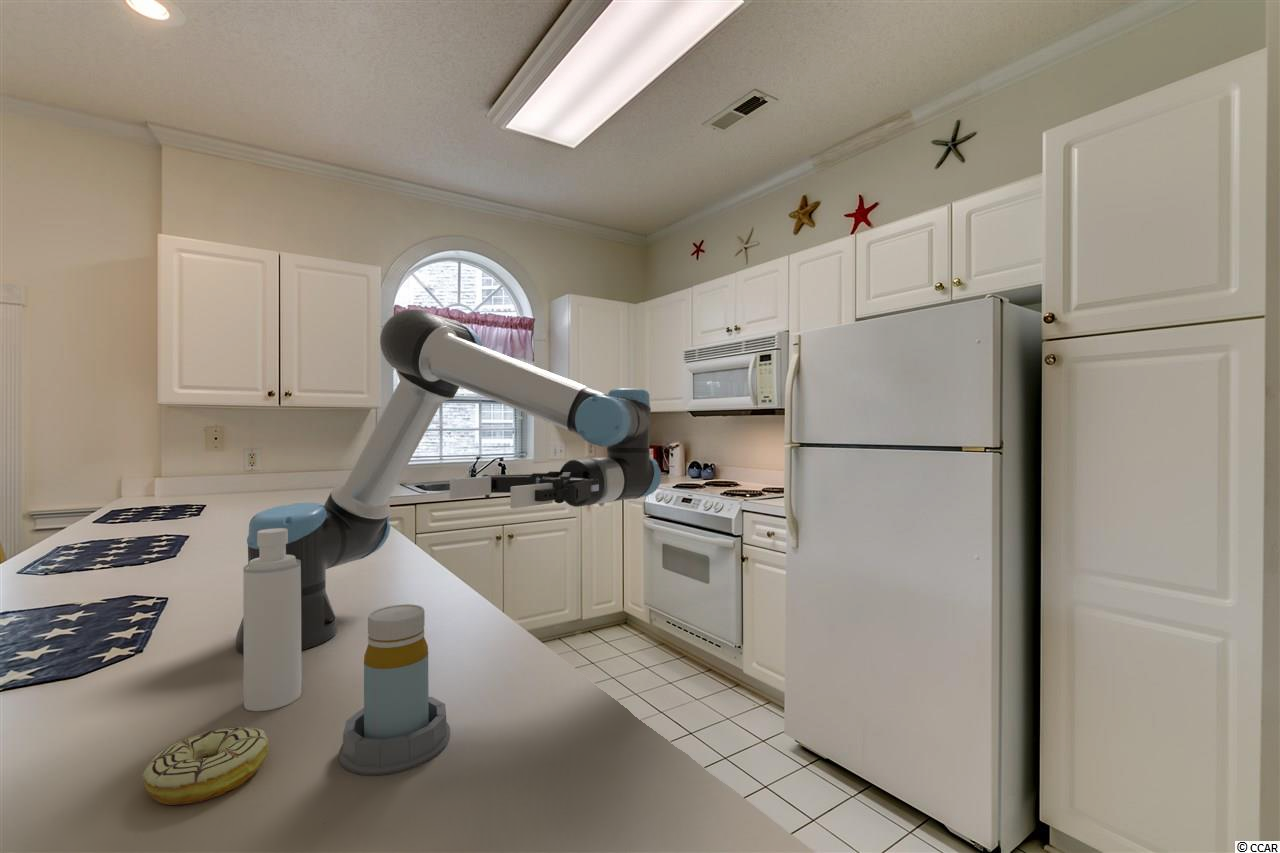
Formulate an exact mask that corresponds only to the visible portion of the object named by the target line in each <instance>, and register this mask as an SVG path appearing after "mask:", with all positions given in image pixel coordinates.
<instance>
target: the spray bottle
mask: <svg viewBox="0 0 1280 853" xmlns="http://www.w3.org/2000/svg"><path fill="white" fill-rule="evenodd" d="M287 543H288V529H285V528H275V529H266V530H261V531H258V532H257V546H258V547H259V558H255V559H252V560H250V562H249V564H248V563H247V564H246V565H244V566H243V582H242V583H243V588H242V590H243V591H242V593H243V595H242V596H243V599H242V600H243V601H242V602H243V604H242V605H243V606H242V607H243V614H242V615H243V616H242V618H243V623H244V654H243V707H244V709H246V710H247V711H250V712H267V711H271V710H272V711H273V710H276V709H280V708H284V707H286V706H288V705H291V704H293V703H294V702H296V701H297V700H298V699H299V698H301V694H302V650H301V560H299V559H296V557H295V556H294V555H286V544H287ZM298 562H299V563H298Z"/></svg>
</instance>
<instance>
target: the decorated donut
mask: <svg viewBox="0 0 1280 853" xmlns="http://www.w3.org/2000/svg"><path fill="white" fill-rule="evenodd" d="M269 747H270V744H269V742H268V737H267V735H266V733H265V730H264V729H260V728H253V727H247V726H246V727H244V726H238V727H226V728H219V729H218V728H217V729H212V730H209V731H206V732H203V733H200V734H197V735H193V736H191V737H187V738H185V739H182V740H181V741H178V742H176V743H174V744H172V745H170V746H168V747H166V748H164V749H162V750H161V751H160V752H158V753H157V754H156V755H155V757H153V759H152V760H151V761H150V762H149V764H148V766H147V767H146V768H145V770H144V772H143V773H142V777H143V778H142V779H143V784H144V787H145V790H146V792H147V793H148V795H149V796H151V798H152V799H154V801H156V802H158V803H160V804H163V805H167V806H168V805H169V806H170V805H171V806H175V805H186V804H195V803H200V802H203V801H206V800H211V798H212V799H214V798H217V797H219V796H222V795H224V794H227V793H226V792H230V791H232V790H234V789H236V788H238V787H240V786H241V785H243V784H244V783H246V782H247V780H248V779H250V778H251V777H252V776H253V775H254V774H255V773H257V772H258V770H259V769H260V768H261V766H262V765H263V763H264V760H265V757H266V755H267V753H268V752H269Z"/></svg>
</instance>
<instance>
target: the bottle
mask: <svg viewBox="0 0 1280 853" xmlns="http://www.w3.org/2000/svg"><path fill="white" fill-rule="evenodd" d="M425 615H426V614H425V609H424V607H423V606H421V605H418V604H412V603H411V604H408V603H406V604H403V603H402V604H395V605H393V604H392V605H388V606H384V607H381V608H378V609H375V610H373V611H371V612H370V613H369V614H368V617H367V635H368V636H367V642H368V644H367V647H366V650H365V653H364V655H363V656H364V657H363V659H364V660H363V708H364V738H370V739H382V740H384V739H389V738H395V737H400V736H406V735H409V734H411V733H413V732H415V731H417V730H420V729H422V728H424V727H426V726H427V725H428V697H429V645H428V643H427V641H426V638H425V624H426V622H425Z"/></svg>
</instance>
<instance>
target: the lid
mask: <svg viewBox="0 0 1280 853" xmlns="http://www.w3.org/2000/svg"><path fill="white" fill-rule="evenodd" d="M446 709H447V708H446V703H444V702H443V701H441V700H439V699H437V698H435V697H433V696H428V725H427V726H426V727H424V728H422V729H420V730H417V731H415V732H413V733H411V734H409V735H406V736H400V737H395V738H389V739H384V740H382V739H370V738H364V707H363V708H361V709H360V710H358V711H357V712H356V713H355V714H353V715H352V716H351V717H350V718H348V719H347V720H346V721H345V724H344V729H343V732H342V739H343V740H342V744H341V746H340V749H339V763H340V764H341V766H342V767H343V768H344V769H345V770H347V771H349V772H350V773H353V774H357V775H362V776H382V775H383V776H384V775H391V774H392V775H393V774H396V773H400V772H404V771H407V770H410V769H413V768H416V767H418V766H421V765H423V764H425V763H427V762H428V761H430V760H431V759H434V758H435V757H436V756H438V755H439V754H440V753H441V752H442V751H443V750H444V749H445V748H446V747H447V745H448V744H449V742H450V738H451V729H450V728H451V727H450V725H449V723H448V722H447V710H446Z"/></svg>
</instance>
